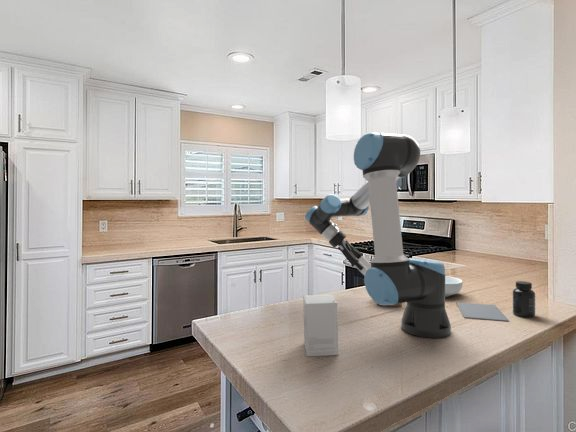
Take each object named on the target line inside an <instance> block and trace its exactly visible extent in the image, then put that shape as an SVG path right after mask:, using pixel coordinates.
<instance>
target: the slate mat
mask: <svg viewBox="0 0 576 432" xmlns="http://www.w3.org/2000/svg"><path fill="white" fill-rule="evenodd" d="M455 304H456V306H457V308H458V307H459V308H458V309H459V311H460V312H461V315H462V317H463V318H464V319H473V320H474V319H475V320H484V321H487V320H488V321H498V322H499V321H500V322H510V320H509V318H507V316H506V315H505V314H504V313H503V312H502V311H501V309H500V308H498V306H496V304H488V303H487V304H485V303H483V304H482V303H470V302H455Z"/></svg>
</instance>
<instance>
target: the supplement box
mask: <svg viewBox="0 0 576 432" xmlns="http://www.w3.org/2000/svg"><path fill="white" fill-rule="evenodd" d="M302 298H303V302H302V303H303V339H304V341H303V343H304V348H305V353H306V356H307V357H320V356H321V357H323V356H338V355H339V334H338V333H339V325H338V319H339V318H338V317H339V316H338V302H337V301H336V299H335V298H334V296H333V294H305V295H303V297H302Z"/></svg>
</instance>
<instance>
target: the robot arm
mask: <svg viewBox="0 0 576 432" xmlns="http://www.w3.org/2000/svg"><path fill="white" fill-rule="evenodd" d="M420 159H421V148H420V146H419V143H418V142H417V140H415V139H414V138H413V137H412V136H410V135H407V134H403V133H402V134H401V133H390V132H389V133H386V132H380V131H377V132H366V133H364V134H363V135H362V136H361V137H360V138H359V139H358V141H357V142H356V145H355V147H354V151H353V163H354V165H355V166H356V168H358V169H359V170H361V171H362V177H363V178H364V179H365V180H366V182H365V183H364V184H362V186H361V187H360V188H359V189H358V190H356V192H355V193H354V194H353V195H352V196H351V197H350V198H340V197H339V196H337V195H335V194H334V193H333V194H332V193H331V194H327V195H326V196H325V197H324V198H323V199H322V200H321V201H320V203H319V205H318V206H317V205H314V206H312V207H311V208H310V209H309V210H308V211H307V212H306V214H305V215H304V218H305V220H306V221H307V222H308V223H309V225H311V226H312V227H313V228H314V229H315V230H316V231H317V232H318V233H319V234H320V235H321V236H322V237H323V239H325V241H327V242H328V243H329V245H331V246H332V248H333V249H334V248H336V247H337V249H338V250H339V251H340V252H341V254H342V255H343V256H344V257H345V259H346V260H347V261H348V262H349V264H351V267H352V268H353V267H355V268H356V269H357V270H358V271H359V272H360V273H361V274H362V275H363V276H364V287H365V289H366V292H367V294H368V295H369V297H370V298H371V300H372V301H374V302H375V303H376V304H377V303H378V304H380V305H379V306H389V305H395V304H398V303H402V304H403V303H406V305H405V308H404V312H403V315H402V318H401V321H400V323H401V325H400V327H401V330H403V331H404V332H406V333H407V334H410V335H412V336H417V337H421V338H427V339H428V338H429V339H439V338H441V339H442V338H446V337H448V336H450V335H451V333H452V326H451V322H450V318H449V316H448V313H447V310H446V297H445V276H447V275H446V269H445V268H446V267H445V265H444V264H443V263H442V262H441V261H437V260H433V259H432V260H431V259H424V258H416V257H409V258H408V256H406V255H405V254H404V248H403V237H402V227H401V217H400V216H401V215H400V206H399V196H398V185H397V181H398V180H399V179H400V178H401V179H402V178H406V177H407V176H408V175H409V174H411V173H412V171H414V169H415V168H416V167H417V166H418V163H419V162H420ZM369 206H370V208H369ZM369 209H370V215H371V216H370V217H371V225H372V237H373V247H374V249H373V250H374V256H373V258H372V259H371V260H370V261H368V260H367V258H366V257H364V256H363V255H364V253H363V252H361V251H359V250H358V249H357V248H356V247H355V246H354V245H352V244H351V243H350V242H349V241H348V240H347V239H346V237H347V235H346V234H345V233H344V232H343V231H342V230H340V228H339V227H338V224H337V223H334V222H333V221H332V220H331V219H332V218H337V217H339V218H340V217H361V216H362V217H363V216H365V215H366V214H367V213H368V211H369ZM345 239H346V240H345Z"/></svg>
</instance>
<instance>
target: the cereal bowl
mask: <svg viewBox="0 0 576 432" xmlns="http://www.w3.org/2000/svg"><path fill="white" fill-rule="evenodd" d="M462 288H463V280H462V279H461V278H458V277H455V276H449V275H446V276H445V298H447V297H451V296H453V295H456V294H459V293H460V292H461V290H462Z"/></svg>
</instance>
